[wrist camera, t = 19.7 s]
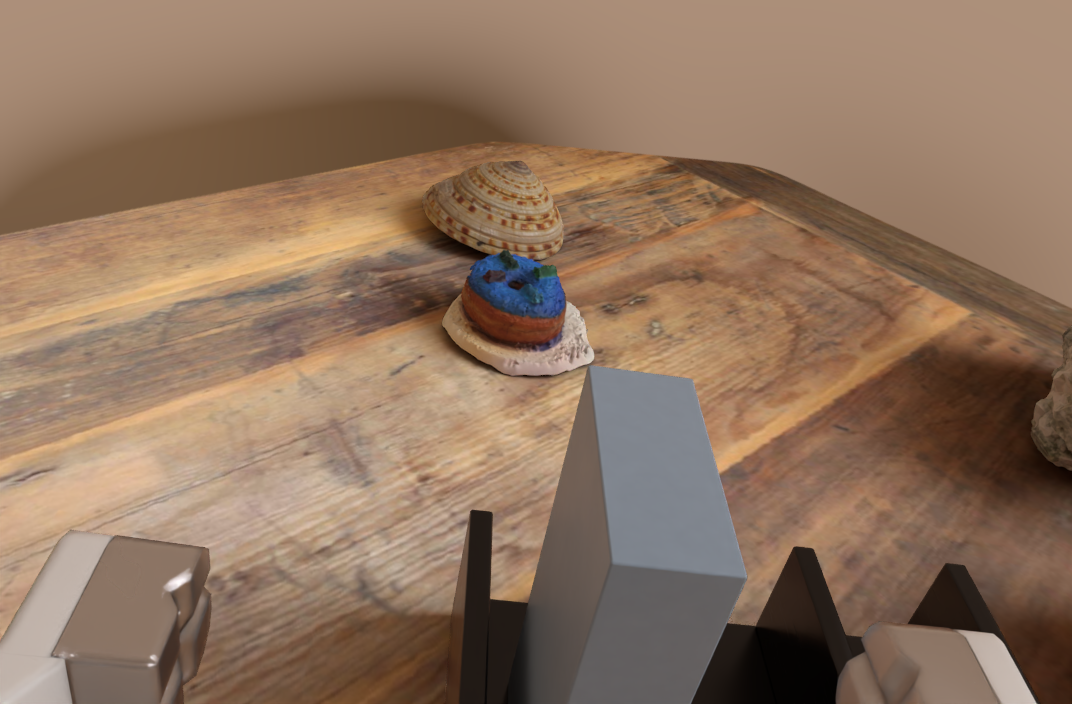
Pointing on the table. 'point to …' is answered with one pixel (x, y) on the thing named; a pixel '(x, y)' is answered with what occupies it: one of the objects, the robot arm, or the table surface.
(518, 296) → the dessert
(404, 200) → the table surface
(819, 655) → the rack
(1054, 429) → the stone
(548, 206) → the seashell
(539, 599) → the grey rectangular block
